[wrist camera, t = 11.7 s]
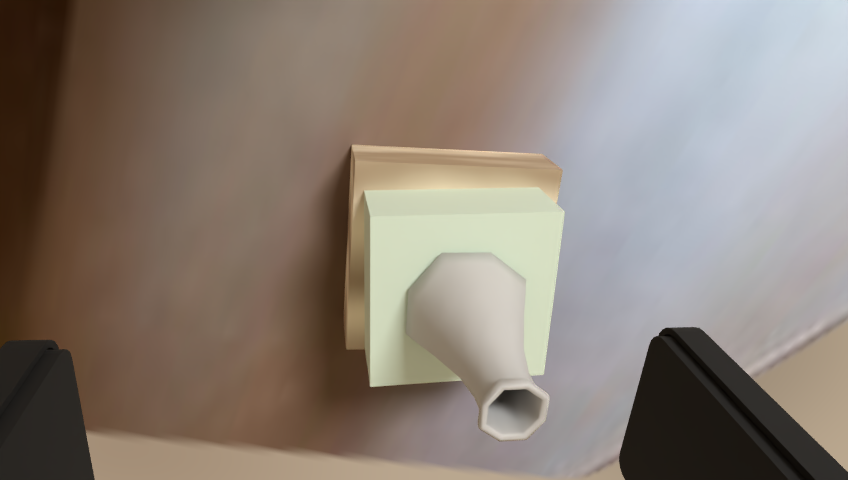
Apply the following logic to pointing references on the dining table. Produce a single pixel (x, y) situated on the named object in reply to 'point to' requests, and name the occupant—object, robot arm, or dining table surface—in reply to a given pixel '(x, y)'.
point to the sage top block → (452, 233)
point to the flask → (480, 337)
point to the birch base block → (425, 172)
